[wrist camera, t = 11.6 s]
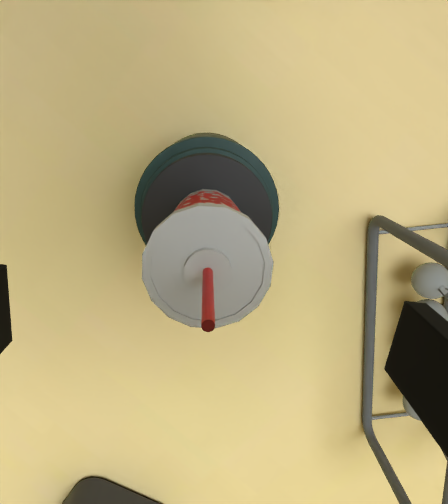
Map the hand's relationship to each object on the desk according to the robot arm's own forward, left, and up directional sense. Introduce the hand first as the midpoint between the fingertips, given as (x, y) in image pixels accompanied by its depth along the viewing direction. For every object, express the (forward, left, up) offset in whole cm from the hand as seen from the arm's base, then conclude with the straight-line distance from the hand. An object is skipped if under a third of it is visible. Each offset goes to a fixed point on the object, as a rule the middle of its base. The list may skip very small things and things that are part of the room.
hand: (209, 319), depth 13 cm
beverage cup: (0, 0, -14) cm, 14 cm away
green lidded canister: (0, 0, -28) cm, 28 cm away
